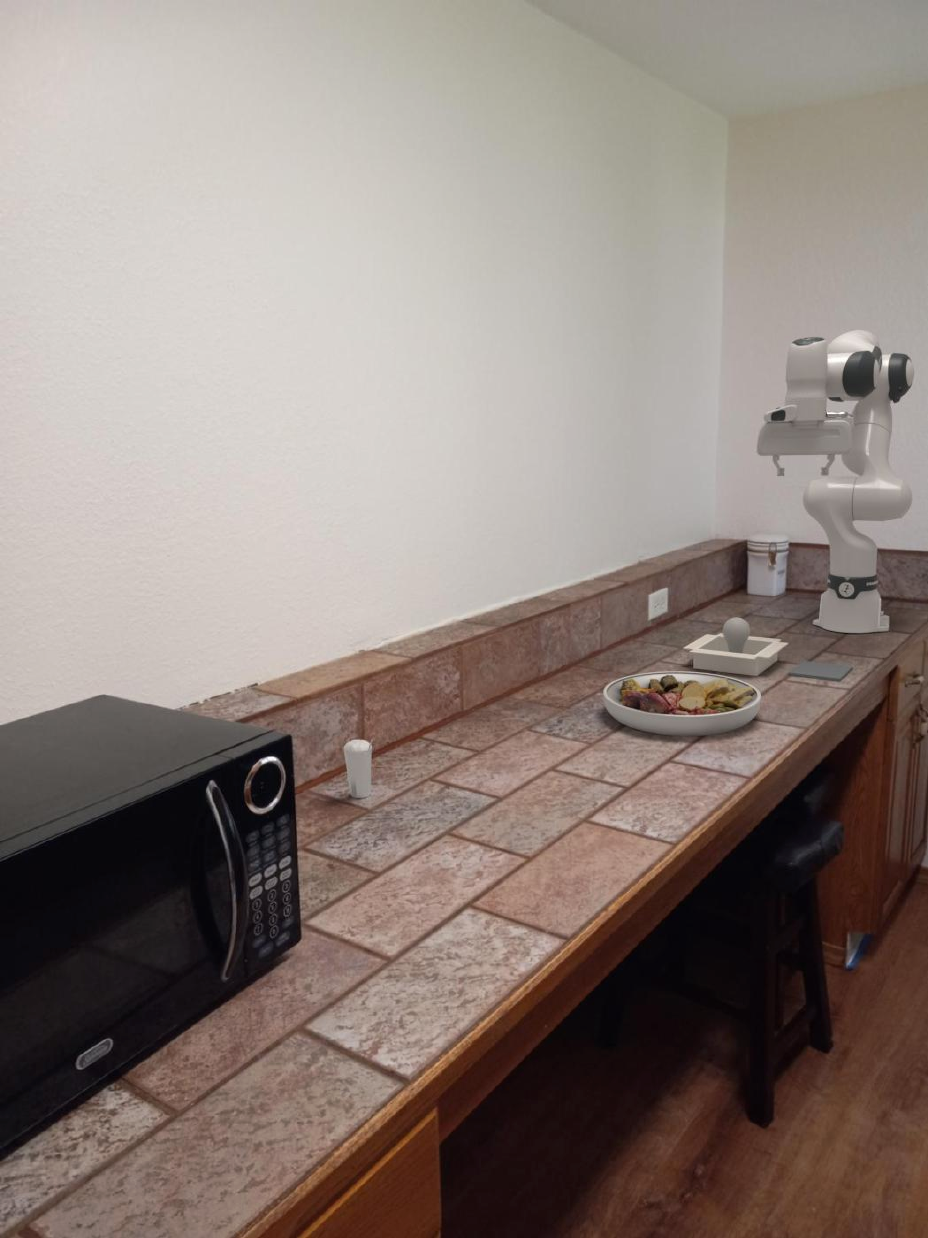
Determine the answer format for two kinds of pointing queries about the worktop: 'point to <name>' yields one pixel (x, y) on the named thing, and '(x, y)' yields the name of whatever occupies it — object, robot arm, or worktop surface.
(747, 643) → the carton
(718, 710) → the bowl
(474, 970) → the worktop surface
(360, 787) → the milkshake
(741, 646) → the lightbulb
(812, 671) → the mat
